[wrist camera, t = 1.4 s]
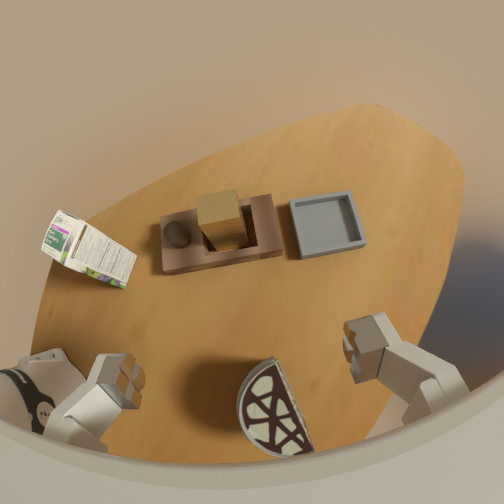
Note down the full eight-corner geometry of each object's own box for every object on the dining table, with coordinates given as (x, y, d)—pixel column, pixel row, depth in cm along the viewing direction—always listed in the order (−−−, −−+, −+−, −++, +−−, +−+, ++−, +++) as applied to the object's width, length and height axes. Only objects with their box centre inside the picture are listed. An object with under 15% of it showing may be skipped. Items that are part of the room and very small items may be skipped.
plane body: (171, 275, 38) (153, 265, 32) (167, 224, 40) (151, 208, 34) (282, 255, 37) (283, 241, 31) (271, 203, 40) (270, 182, 34)
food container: (230, 366, 34) (213, 379, 24) (273, 349, 34) (273, 357, 24) (265, 442, 30) (261, 476, 21) (307, 426, 30) (317, 457, 21)
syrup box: (99, 276, 39) (37, 252, 25) (113, 243, 40) (56, 208, 26) (125, 289, 38) (62, 268, 24) (139, 254, 39) (82, 218, 25)
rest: (301, 259, 37) (302, 255, 35) (288, 206, 39) (289, 199, 37) (362, 247, 36) (366, 243, 35) (347, 196, 39) (350, 190, 37)
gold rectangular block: (217, 251, 38) (198, 225, 29) (214, 228, 39) (195, 197, 30) (249, 245, 38) (239, 217, 28) (245, 222, 39) (235, 188, 29)
